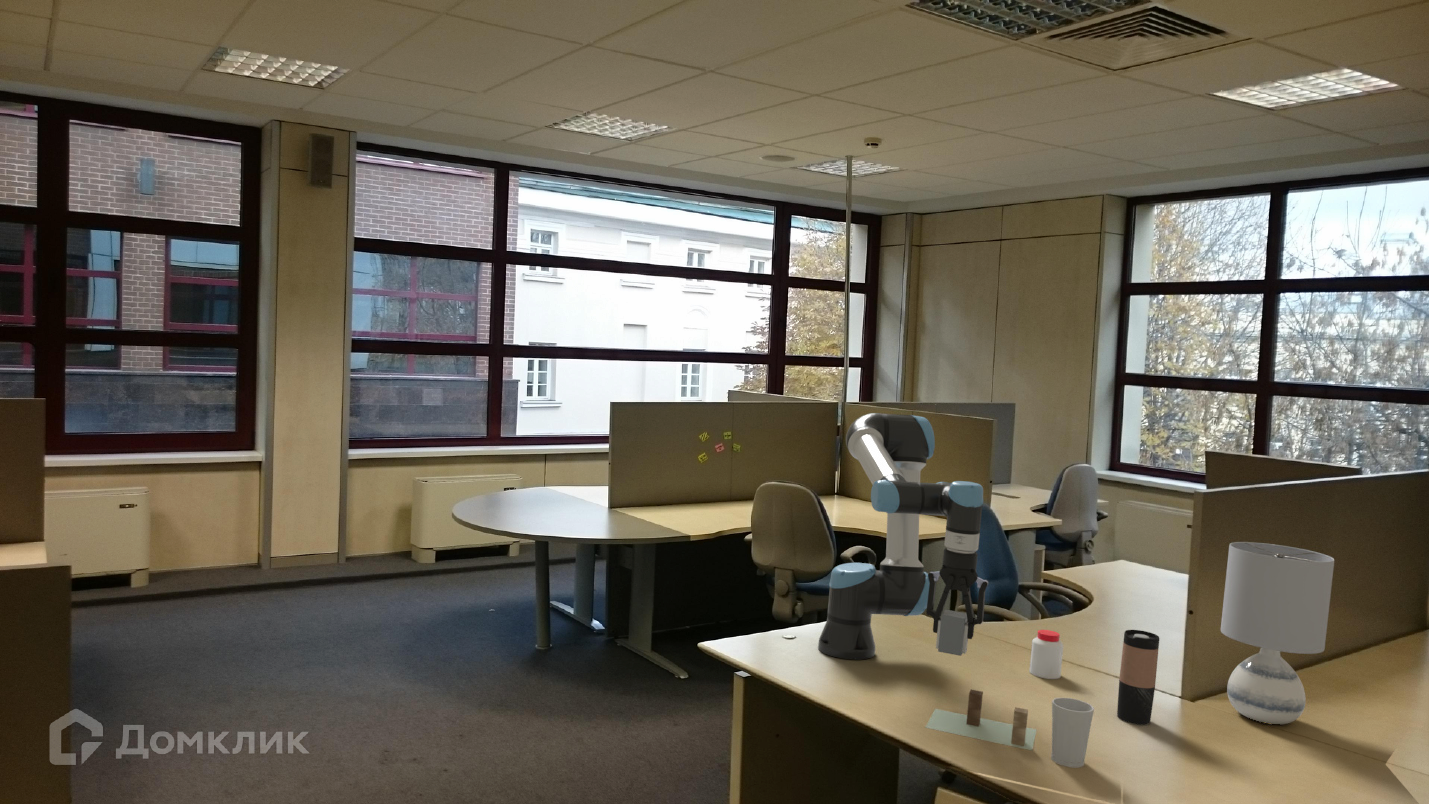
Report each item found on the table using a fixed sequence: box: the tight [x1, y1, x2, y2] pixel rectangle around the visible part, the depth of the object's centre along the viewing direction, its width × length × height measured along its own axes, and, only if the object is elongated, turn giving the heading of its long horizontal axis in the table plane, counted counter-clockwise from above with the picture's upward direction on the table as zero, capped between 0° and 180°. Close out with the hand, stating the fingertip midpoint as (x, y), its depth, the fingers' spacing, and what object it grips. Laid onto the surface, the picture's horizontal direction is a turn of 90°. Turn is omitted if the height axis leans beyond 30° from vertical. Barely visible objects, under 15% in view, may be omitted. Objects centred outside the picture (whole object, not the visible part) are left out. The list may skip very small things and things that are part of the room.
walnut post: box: [966, 689, 984, 727], centre depth 215 cm, size 3×3×7 cm
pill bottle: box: [1028, 629, 1064, 680], centre depth 256 cm, size 8×8×11 cm
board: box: [924, 708, 1037, 751], centre depth 212 cm, size 22×13×1 cm, turn 68°
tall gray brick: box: [937, 609, 968, 657], centre depth 224 cm, size 5×5×9 cm
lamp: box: [1220, 541, 1335, 725], centre depth 233 cm, size 22×22×40 cm
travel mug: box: [1116, 629, 1160, 726], centre depth 226 cm, size 8×8×20 cm
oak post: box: [1011, 706, 1029, 746], centre depth 205 cm, size 3×3×7 cm
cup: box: [1050, 697, 1095, 768], centre depth 198 cm, size 8×8×12 cm
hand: (951, 649), depth 225 cm, fingers closed on tall gray brick, 5 cm apart
